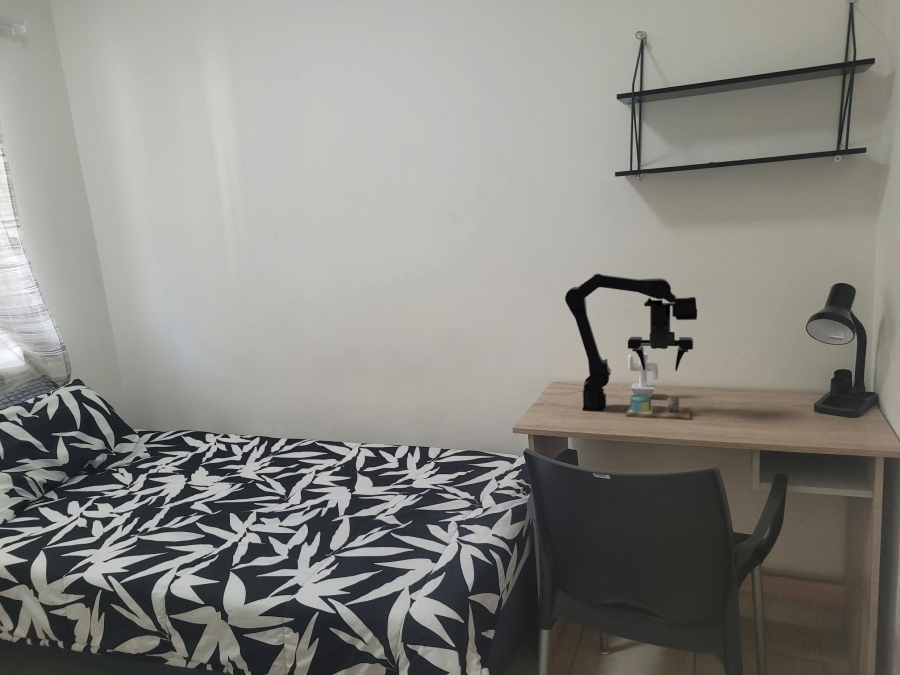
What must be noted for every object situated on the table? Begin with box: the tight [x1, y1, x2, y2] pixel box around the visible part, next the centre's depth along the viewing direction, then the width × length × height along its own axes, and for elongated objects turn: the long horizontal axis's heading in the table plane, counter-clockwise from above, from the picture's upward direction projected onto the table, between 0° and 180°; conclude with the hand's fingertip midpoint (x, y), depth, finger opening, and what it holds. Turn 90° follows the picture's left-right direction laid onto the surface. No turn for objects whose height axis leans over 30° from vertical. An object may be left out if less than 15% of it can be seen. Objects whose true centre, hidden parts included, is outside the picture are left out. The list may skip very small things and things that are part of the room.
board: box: [625, 396, 691, 421], centre depth 188 cm, size 18×10×5 cm, turn 69°
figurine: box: [627, 351, 659, 398], centre depth 206 cm, size 7×9×15 cm
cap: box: [629, 394, 652, 412], centre depth 190 cm, size 6×6×4 cm
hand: (660, 370), depth 190 cm, fingers open, 9 cm apart
